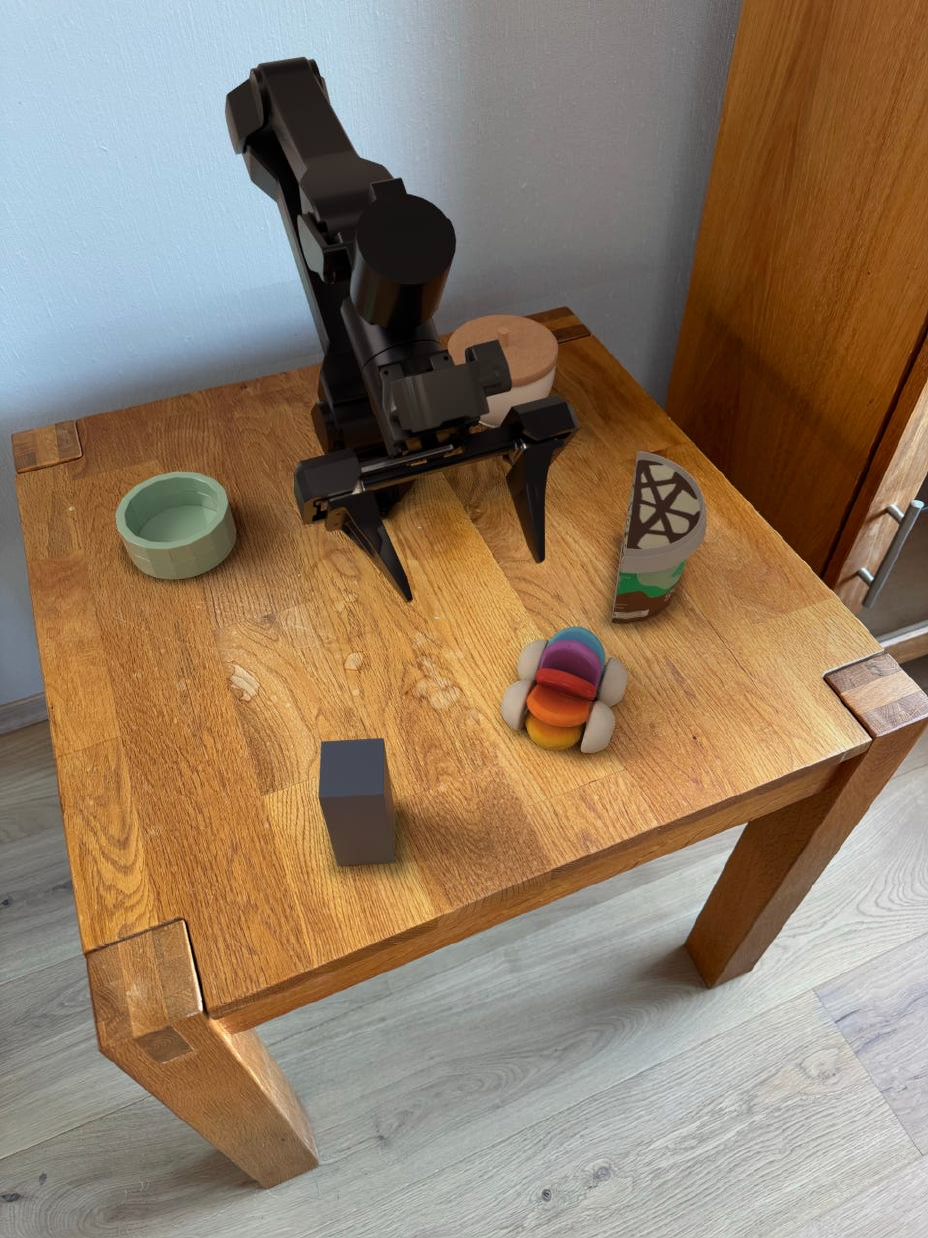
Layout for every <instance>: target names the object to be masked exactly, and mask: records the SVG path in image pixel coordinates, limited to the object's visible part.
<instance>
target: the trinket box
mask: <svg viewBox="0 0 928 1238" xmlns="http://www.w3.org/2000/svg"><path fill="white" fill-rule="evenodd" d="M497 339H498V340H499V342H500V345H501V347H502V349H503V352H504V354H505V357H506V359H507V362H508V365H509V370H510V374H511V379H512V389H511V390H510V391H509V392H505V393H501V394H497V395H493V396H489V397H487V402H488V406H489V411H490V413H488V414H485V415H482V416H480V417H481V419H480V421H479V423H478V424H481V425H483V426H485V427H488V428H490V429H492V428H496V427H500V425H501V423H502V422H503V420H504V418H505V417H506V415H507V413H508V412H509V410H510V408H511V407H512V406H516V405H519V404H523V403H527V402H531V401H535V400H539V399H543V398H547V397H550V393H551V390H552V388H553V384H554V381H555V380H554V379H555V376H556V368H557V362H558V358H559V343H558V341H557V338H556V336H555V335H554V334H553V333H552V331H551V330H550V329H549V328H547V326H545V325H543V324H542V323H539V322H538V321H536V320H533V319H531V318H528V317H524V316H519V315H512V314H492V315H486V316H481V317H477V318H475V319H472V320H469V321H467V322H465V323H464V324H462V325H461V326H459V327H458V328H457V329H456V330H455V331H454V332H453V333H452V334H451V336H450V338H449V340H448V342H447V349H448V351H449V354H450V355H451V356H452V359H453V362H454V365H459V364H464V363H466V360H465V349H466V348H468V347H471V346H473V345H476V344H480V343H484V342H489V341H493V340H497Z"/></svg>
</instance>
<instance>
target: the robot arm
mask: <svg viewBox="0 0 928 1238" xmlns="http://www.w3.org/2000/svg"><path fill="white" fill-rule="evenodd" d="M224 105H225V107H224V115H225V122H226V127H227V131H228V134H229V139H230V143H231V147H232V149H233V151H234V153H235V155H236V156H238V155H241V156H242V158H243V162H244V164H245V167H246V170H247V173H248V176H249V179H250V182H252V183H253V184H254V185H255V186H256V187H257V188H258V189H259V190H261V191H262V192H263V193H264V194H265V195H267V196H268V197H269V198H270V199H271V200H273V201H274V202H275V203H276V205H277V208H278V212H279V214H280V219H281V221H282V224H283V228H284V231H285V234H286V237H287V240H288V243H289V246H290V250H291V253H292V256H293V259H294V263H295V266H296V269H297V273H298V276H299V278H300V282H301V285H302V289H303V292H304V295H305V298H306V301H307V305H308V308H309V311H310V313H311V317H312V320H313V324H314V327H315V330H316V333H317V337H318V340H319V342H320V346H321V349H322V351H323V359H322V363H321V366H320V370H319V375H318V384H317V397H318V401H317V402H315V403H314V405H313V406H312V408H311V409H310V416H311V420H312V424H313V428H314V433H315V435H316V439H317V440H318V443H319V445H320V448H321V450H322V452H323V454H321V455H318V456H314V457H311V458H306V459H303V460H299V462H298V464H297V465H296V468H295V470H294V472H293V494H294V497H295V498H294V499H295V502H296V506H297V508H298V511H299V515H300V518H301V521H302V524H303V525H305V526H307V525H309V526H310V525H315V524H319V523H323V522H324V528H325V531H326V532H329V533H330V532H335V531H341V532H342V533H344V534H345V535H346V536H347V538H348V539H350V541H352V543H354V544H355V545H356V546H357V547H358V548H359V549H360V550H361V552H363V553H364V554H365V555H366V556H367V557H368V558H369V559H370V560H371V562H372V563H373V565H375V567H376V568H377V569H378V571H380V573H381V574H382V575H383V577H384V578H385V579H386V581H388V583H389V584H390V586H391V587H392V588H393V589H394V591H395V592H396V593H397V594H398V596H400V598H401V599H402V600H403V602H404V603H405V604H410V603H412V602H413V601H414V596H413V592H412V589H411V586H410V582H409V579H408V576H407V573H406V572H405V569H404V567H403V564H402V563H401V560H400V558H399V556H398V553H397V551H396V549H395V546H394V544H393V542H392V539H391V537H390V535H389V532H388V530H387V529H386V528H387V527H386V526H385V524H384V521H383V519H385V518H387V517H388V516H389V515H390V513H391V512H392V511H393V510H394V509H395V507H396V506H397V505H398V504H399V503H400V502H401V501H403V499H404V498H405V497H406V495H407V494H408V493H409V491H410V490H411V489H412V487H413V484H414V483H415V481H416V480H417V479H421V478H424V477H428V476H431V475H435V474H439V473H443V472H447V471H450V470H453V469H457V468H461V467H464V466H469V465H473V464H475V463H479V462H483V461H488V460H491V459H494V458H498V457H501V458H502V461H503V462H504V463H507V464H508V465H510V467H511V468H510V469H509V471H508V472H507V473H506V475H505V476H504V478H505V481H506V484H507V485H506V486H507V487H508V491H509V494H510V497H511V500H512V503H513V506H514V508H515V512H516V516H517V519H518V522H519V525H520V527H521V531H522V534H523V537H524V541H525V543H526V546H527V548H528V551H529V552H530V554H531V556H532V559H533V561H534V562H535V564H536V565H539V564H542V563H544V561H545V560H546V492H547V491H546V490H547V483H548V475H549V472H550V471H549V470H550V467H551V466H552V465H553V463H554V462H555V461H556V460H557V459H558V458H559V456H560V455H561V454H562V453H563V452H564V450H565V449H566V447H567V446H568V444H570V442H571V441H572V440H573V438H575V436H576V435H578V432H579V431H580V430H581V426H580V423H579V421H578V418H577V415H576V412H575V410H574V407H573V405H572V404H570V403H569V402H568V401H567V400H566V399H564V398H563V397H561V396H560V395H559V394H554V395H549V396H548V397H547V398H543V399H539V400H535V401H531V402H527V403H523V404H519V405H516V406H512V407H511V408H510V410H509V412H508V413H507V415H506V417H505V418H504V420H503V422H502V423H501V425H500V427H496V428H488V429H485V430H480V431H477V432H472V429H471V427H476V426H478V424H480V423H479V421H480V419H481V417H480V416H482V415H485V414H488V413H490V411H489V406H488V402H487V397H489V396H493V395H497V394H501V393H505V392H509V391H510V390H511V389H512V379H511V374H510V370H509V365H508V362H507V359H506V357H505V354H504V352H503V349H502V347H501V345H500V342H499V340H498V339H497V340H493V341H489V342H484V343H480V344H476V345H473V346H471V347H468V348H466V349H465V360H466V363H464V364H459V365H454V362H453V359H452V356H451V355H450V354H449V351H448V348H447V349H446V348H445V349H444V348H443V345H442V342H441V340H440V337H439V333H438V330H437V328H436V325H435V321H434V319H433V316H434V315H435V313H436V312H437V311H438V310H439V307H440V304H441V301H442V298H443V294H444V290H445V287H446V284H447V281H448V278H449V274H450V271H451V267H452V264H453V261H454V257H455V254H456V250H457V248H456V247H457V236H456V230H455V228H454V225H453V223H452V220H451V219H450V218H449V217H447V216H446V214H445V213H444V212H443V211H442V210H441V209H440V208H439V207H438V206H436V205H435V204H434V203H433V202H432V201H429V200H427V199H426V198H424V197H421V196H419V195H414V194H411V193H408V192H407V189H406V186H405V182H404V180H403V178H402V177H399V176H398V177H394V176H393V175H392V173H391V172H390V171H389V170H388V168H387V167H385V166H384V165H383V164H381V163H379V162H375V161H372V160H370V159H366V158H363V157H361V155H360V154H359V153H358V152H357V150H356V149H355V147H354V145H353V143H352V141H351V139H350V137H349V136H348V134H347V132H346V130H345V128H344V125H342V122H341V121H340V119H339V117H338V115H337V114H336V111H335V109H334V108H333V106H332V105H331V100H330V95H329V91H328V87H327V84H326V79H325V78H324V76H322V75H321V71H320V68H319V66H318V64H317V61H316V60H315V58H310V59H308V58H307V57H306V56H298V57H292V58H286V59H278V60H273V61H266V62H261V63H260V62H259V63H258V64H257V66H256V67H252V68H250V70H249V76H248V78H247V79H246V80H245V81H243V82H242V83H240V84H239V85H238V86H236V87H235V88H233V89H232V90H231V91H229V92H228V93H227V94H226V95H225V103H224ZM461 451H462V452H461ZM458 452H459V453H458Z"/></svg>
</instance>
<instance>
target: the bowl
mask: <svg viewBox="0 0 928 1238" xmlns="http://www.w3.org/2000/svg"><path fill="white" fill-rule="evenodd" d="M121 498H122V499H121V500H120V503H119V505H118V507H117V508H116V511H115V522H116V530H117V532H118V533H119V536H120V538H121V541H122V543H123V546H124V548H125V550H126V553H127V555H128V557H129V558H130V560H131V561H132V563H133V565H135V566H136V568H137V569H139V571H140V572H142V573H144V574H145V575H148V576H150V577H153V578H157V579H160V580H174V581H175V580H184V579H190V578H193V577H197V576H200V575H202V574H205V573H207V572H209V571H211V570H212V569H214V568H217V566H218V565H220V564H221V563H223V561H225V560H226V558H227V557H228V556H229V555H230V554H231V552H232V550H233V548H234V547H235V544H236V541H237V534H238V533H237V525H236V523H235V519H234V515H233V512H232V511H233V510H232V508H231V505H230V501H229V498H228V493H227V490H226V489H225V488H224V487H223V486H222V484H221V483H219V482H218V481H217V480H216V479H215V478H214V477H211V476H208V475H206V474H203V473H200V472H197V471H180V470H179V471H171V472H167V473H163V474H158V475H153V476H152V477H150V478H148V479H146V480H144V481H142V482H140V483H138V484H136V485H135V486H134V487H133V488H132V489H130V491H128V492H127V493H126V495H124V496H123V497H121Z"/></svg>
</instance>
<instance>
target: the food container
mask: <svg viewBox="0 0 928 1238" xmlns="http://www.w3.org/2000/svg"><path fill="white" fill-rule="evenodd" d="M707 522H708V521H707V505H706V501H705V497H704V495H703V492H702V490H701V488H700V485H699V484H698V482H697V481H696V480H695V478H694V477H693V476H692V475H691V474H690V473H689V472H688V471H687V470H686V469H685V468H684V467H682V466H680V465H679V464H678V463H676V462H674V461H672V460H670V459H669V458H667V457H664V456H662V455H659V454H656V453H651V452H648V451H643V450H637V454H636V459H635V464H634V472H633V477H632V483H631V489H630V495H629V500H628V505H627V511H626V517H625V523H624V529H623V534H622V540H621V546H620V553H619V562H618V567H617V568H618V569H617V576H616V583H615V584H616V585H615V591H614V592H615V593H614V599H613V607H612V614H611V621H610V623H611V624H621V625H622V624H623V625H625V624H632V623H633V624H635V623H641V622H642V623H643V622H645V621H648V620H649V619H652V618H654V617H656V616H658V615H660V614H661V613H662V612H663V611H664V610H666V608H667V607H669V605H670V603H671V601H672V599H673V597H674V595H675V592H676V590H677V588H678V585H679V582H680V579H681V576H682V574H683V571H684V569H685V566H686V563H687V561H688V559H689V558H690V557H692V555H694V553H696V552H697V551H698V549H699V548H700V547H701V545H702V544H703V542H704V540H705V539H704V538H705V537H706V532H707V528H708V527H707V526H708V525H707V524H708V523H707Z"/></svg>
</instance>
